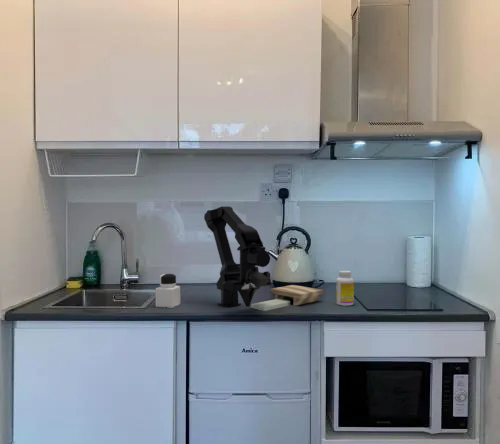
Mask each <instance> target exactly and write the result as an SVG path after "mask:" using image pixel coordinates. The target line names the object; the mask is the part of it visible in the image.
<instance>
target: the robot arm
mask: <svg viewBox="0 0 500 444" xmlns="http://www.w3.org/2000/svg"><path fill="white" fill-rule="evenodd" d="M203 218H204V219H203V220H204V221H205V224H206V226H207V228H208V229H209V230H210V231H211V232H212V233H213V237H214V240H215V244H216V248H217V253H218V255H219V258H220V259H219V260H220V263H221V267H220V271H219V279H218V280H217V282H216V289H217V290H220V295H221V296H220V298H221V299H220V300H221V301H220V302H218V303H217V305H220V306H224V307H235V306H240V305H242V303H241V302H239V296H240V297H241V299H242V301H243V303H244V305H245V307H247V308H249V307H251V304H252V301H253V297H254V294H255V293H256V292H257V291H259V289H260V288H262V287H266V286H271V284H272V280H271V272H270V271H263V272H261V271H259V267H261V268H264V267H267V266H268V265H269V263H270V261H271V255H270V253H269V252H268V251H267V250H266V246H264V242H263V241H262V240H261V236H260V234H259V232H258V230H257V229H256V228H254V227H253V226H251V225H248V224H246V223H245V222H244V221H243V220H242V218H241V217H239V215H238V214H237V213H236V212H235V211H234V209H233V207H232V206H227V205H225V206H220V207H218V208H214V209H211V210H210V209H208V210H207V211H205V213H204V216H203ZM226 225H228V226H229V227H230V229H231V230H232V231H233V232H234V239H235V240H236V242H237V244H238V245H239V246H238V247H237V248H236V250H237V251H239V263H237V262H235V260H234V256H233V253H232V249H231V246H230V241H229V239H228V234H227V232H226V227H227V226H226Z"/></svg>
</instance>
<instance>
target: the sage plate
mask: <svg viewBox="0 0 500 444" xmlns="http://www.w3.org/2000/svg"><path fill="white" fill-rule="evenodd" d="M289 306H291V301H290V300H281V299H275V298H274V299H270V300H265V301H261V302H256V303H255V302H254V303H250V307H251V309H254V310H255V309H256V310H259V311H264V312H265V311H270V310H276V309H279V308H283V307H289Z"/></svg>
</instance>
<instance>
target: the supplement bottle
mask: <svg viewBox="0 0 500 444" xmlns="http://www.w3.org/2000/svg"><path fill="white" fill-rule="evenodd" d="M354 282H355V281H354V278H352V271H351V270H339V271H338V277H337V278H336V282H335V283H336V284H335V287H336V288H335V291H336V293H335V295H336V297H335V299H336V300H335V301H336V302H335V303H336V304H337V305H338V306H341V307H342V306H343V307H344V306H345V307H346V306H347V307H349V306H352V305H354V301H355V299H354V298H355V297H354V296H355V295H354V294H355V293H354V291H355V289H354V288H355V283H354Z"/></svg>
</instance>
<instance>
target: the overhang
mask: <svg viewBox="0 0 500 444" xmlns="http://www.w3.org/2000/svg"><path fill="white" fill-rule="evenodd" d="M270 294H274V299H281V300H286V301H288V300H293V306H300V305H304V304H309V303H314V302H318V301H319V296H320V295H324V289H320V288H313V287H308V286H302V285H296V284H290V285H285V286H280V287H274V288H270Z"/></svg>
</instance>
